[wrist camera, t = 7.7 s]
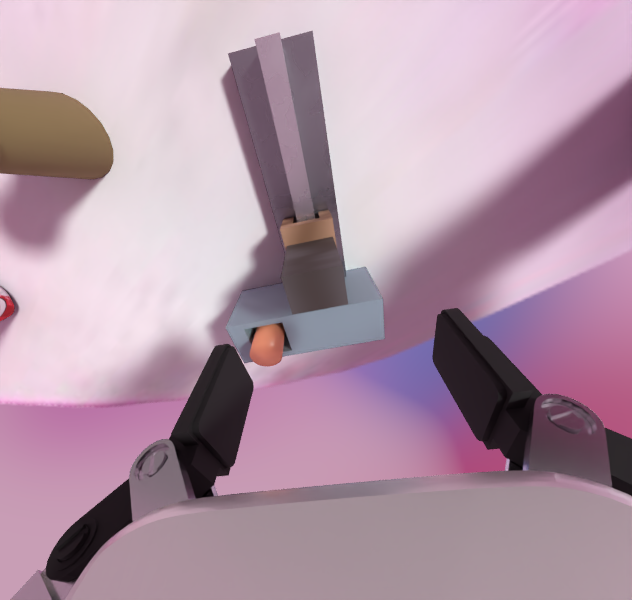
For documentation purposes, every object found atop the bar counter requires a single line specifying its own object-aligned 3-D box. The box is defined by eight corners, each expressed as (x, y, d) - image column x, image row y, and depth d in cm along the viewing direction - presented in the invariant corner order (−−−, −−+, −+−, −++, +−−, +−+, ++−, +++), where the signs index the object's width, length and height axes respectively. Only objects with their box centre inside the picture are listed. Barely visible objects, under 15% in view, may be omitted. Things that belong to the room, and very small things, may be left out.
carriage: (328, 209, 22) (342, 241, 14) (337, 267, 25) (353, 320, 17) (283, 219, 22) (270, 256, 14) (298, 275, 25) (294, 331, 17)
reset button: (282, 303, 25) (277, 340, 20) (289, 324, 27) (285, 363, 22) (256, 308, 26) (244, 346, 21) (265, 328, 27) (255, 368, 22)
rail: (311, 40, 17) (313, 15, 14) (344, 270, 27) (349, 285, 24) (233, 60, 17) (218, 41, 14) (294, 280, 27) (293, 295, 24)
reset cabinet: (365, 266, 27) (382, 298, 21) (368, 302, 29) (384, 338, 24) (242, 290, 28) (225, 327, 22) (256, 322, 30) (244, 363, 25)
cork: (60, 181, 21) (-134, 202, 12) (9, 93, 18) (-315, 26, 8) (126, 177, 21) (-15, 194, 12) (88, 89, 18) (-150, 16, 8)
